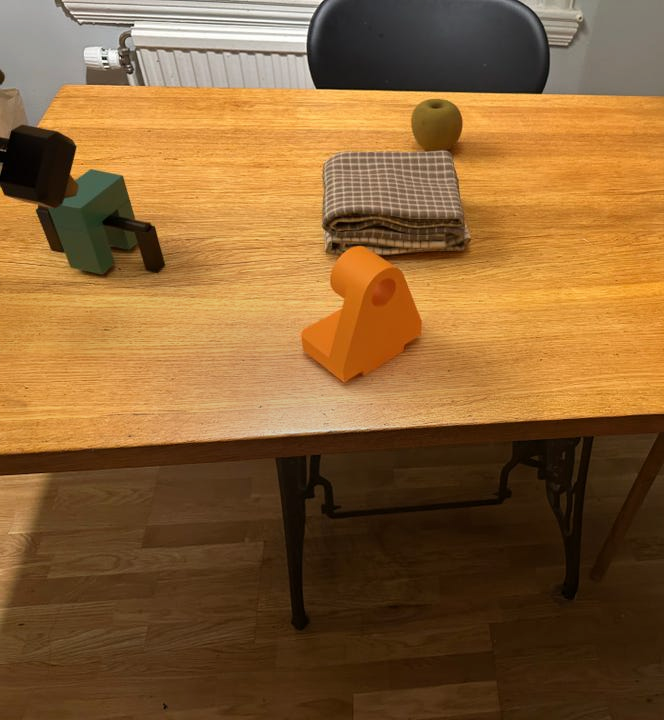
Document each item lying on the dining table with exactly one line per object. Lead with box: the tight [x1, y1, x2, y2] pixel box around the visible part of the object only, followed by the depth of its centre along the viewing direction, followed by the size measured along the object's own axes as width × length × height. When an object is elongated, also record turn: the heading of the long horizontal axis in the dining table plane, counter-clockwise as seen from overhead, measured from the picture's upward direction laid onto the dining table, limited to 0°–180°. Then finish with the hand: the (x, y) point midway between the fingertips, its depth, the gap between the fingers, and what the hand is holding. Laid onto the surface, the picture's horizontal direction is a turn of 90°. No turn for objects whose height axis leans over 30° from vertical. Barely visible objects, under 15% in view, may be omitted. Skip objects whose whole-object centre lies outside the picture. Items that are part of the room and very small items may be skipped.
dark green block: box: [48, 168, 138, 276], centre depth 78 cm, size 8×4×8 cm, turn 168°
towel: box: [321, 150, 472, 257], centre depth 89 cm, size 15×18×8 cm
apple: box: [410, 98, 464, 152], centre depth 106 cm, size 8×8×7 cm
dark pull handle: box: [35, 205, 166, 274], centre depth 79 cm, size 2×14×6 cm, turn 78°
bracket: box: [300, 246, 423, 383], centre depth 70 cm, size 11×7×12 cm, turn 138°
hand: (33, 181), depth 68 cm, fingers open, 9 cm apart
